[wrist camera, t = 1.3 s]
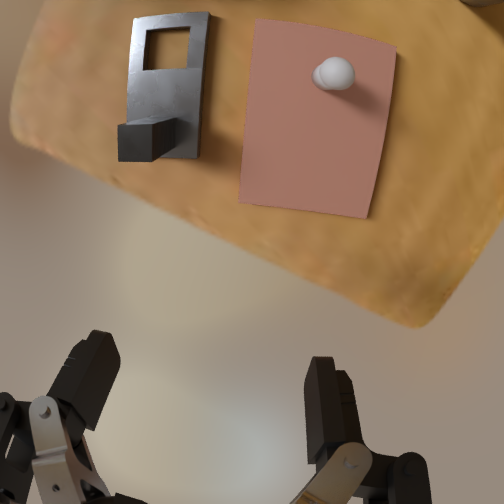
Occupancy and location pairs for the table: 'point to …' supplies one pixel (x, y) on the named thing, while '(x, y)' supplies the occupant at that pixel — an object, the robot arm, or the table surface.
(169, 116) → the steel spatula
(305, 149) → the pink board with peg
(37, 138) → the table surface
